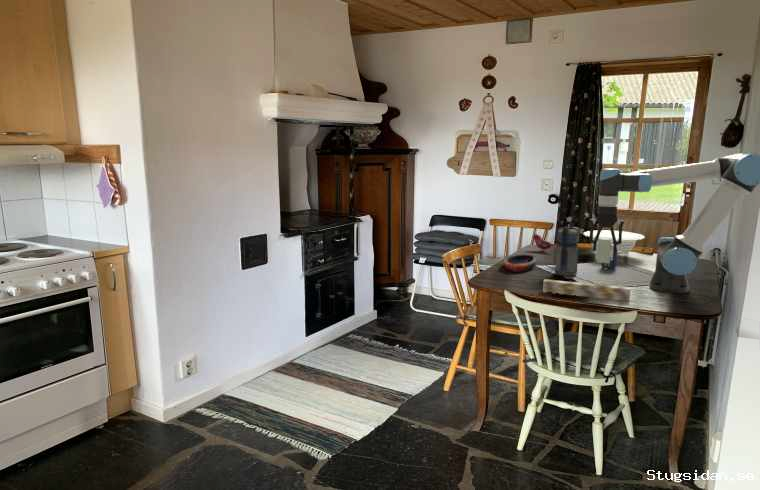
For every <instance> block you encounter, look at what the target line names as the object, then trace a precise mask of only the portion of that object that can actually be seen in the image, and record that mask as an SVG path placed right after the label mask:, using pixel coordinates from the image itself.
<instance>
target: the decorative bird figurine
mask: <svg viewBox="0 0 760 490" xmlns="http://www.w3.org/2000/svg"><path fill="white" fill-rule="evenodd" d="M532 238H533V239H534V243H535V245H536V247H538V248H539V249H540V250H538V251H539V252H542V253H545V252H546V250H547V249H550V248H551V247H554V246H557V244H558V243H551V242H550V241H548V240H546V239H544V238H542V237H541V236H540V235H539V234H537V233H535V234H534V235H533V236H532Z"/></svg>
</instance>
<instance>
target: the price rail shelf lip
mask: <svg viewBox="0 0 760 490" xmlns="http://www.w3.org/2000/svg"><path fill="white" fill-rule="evenodd" d="M542 292H543V293H547V292H552V293H551V294H556V293H559V294H558V295H565V294H566V296H567V295H568V296H575V295H576V296H577V297H586V298H587V297H588V298H594V299H595V298H596V299H605V300H614V301H621V302H623V301H625V302H630V297H631V287H629V286H618V285H607V284H596V283H586V282H585V283H584V282H576V281H565V280H555V279H545V278H544V279H543V283H542Z"/></svg>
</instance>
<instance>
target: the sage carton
mask: <svg viewBox="0 0 760 490" xmlns="http://www.w3.org/2000/svg"><path fill="white" fill-rule="evenodd" d="M611 249H612V241H611V237H605V236H599V238H598V253H597V259H596V263H600V264H601V263H610V257H611Z"/></svg>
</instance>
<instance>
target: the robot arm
mask: <svg viewBox="0 0 760 490" xmlns="http://www.w3.org/2000/svg"><path fill="white" fill-rule="evenodd" d="M713 180H715V181H716V182H720V185H719V187H718V188H717V189H716V190H715V192H714V193H713V194H712V196H711V197H710V198H709V199H708V201H707V202H706V203H705V205H704V206H703V207H702V209H701V210H700V211H699V212H698V214H697V215H696V216H695V217H694V218H693V220H692V222H690V224H689V225H688V226H687V228H686V229H685V230H684V232H683V233H682V234H678V235H675V237H673V236H672V237H669V236H665V237H664V236H661V237H659V238H658V242H657V250H656V251H657V252H656V261H655V270H654V273H653V275H652V277H651V278H650V281H649V286H648V287H649V289H652V290H653V291H657V292H661V293H668V294H686V293H688V292H689V288H690V287H689V286H690V285H689V281H688V279H687V275H688V274H690V273H691V272H692V271H694V270H695V268H696V266H697V262H698V259H700V257H701V255H702V254H703V253H704V249H703V248H704V247H703V246H704V245H705V244H706V243H707V241H708V240H709V239H710V237H712V236H713V234H714V233H715V231H716V230H717V229H718V227H720V225H721V224H722V222H724V220H726V218H727V216H729V214H730V213H731V211H732V210H733V209H734V208H735V207H736V205H737V204H738V203H739V202H740V200H741V199H742V198H743V196H746V195H750V194H751V193H752V192H753V191H754V190H755V188H756V187H757V186H758V185H760V154H759V153H756V152H740V153H735V154H731V155H726V156H723V157H716V158H714V159H713V160H711V161H703V162H697V163H689V164H683V165H675V166H674V165H673V166H668V167H667V166H666V167H660V168H652V169H646V170H638V171H636V170H635V171H634V170H633V171H628V172H627V173H622V172H621V170H620V169H619V168H602V169H601V171H600V176H599V189H598V190H599V191H598V203H597V204H598V205H597V215H596V217H595V218H590V220H589V224H590V230H589V231H590V237H589V238H588V239H589V240H588V242H589V243H591V244H592V243H593V246H592V249H593V250H592V251H593V252H595V260H597V253H598V243H597V240H598V238H599V235H600V233H601V230H603V228H608V229H609V231H611V235H612V239H613V244H612V249H611V260H613V252H615V253H616V247H617V246H619V245H618V244H621V243H622V231H623V226H624V223H625V221H624V220H623V219H618V205H619V203H618V202H619V192H626V193H627V192H629V193H630V192H631V193H648V192H650V191H651V190H652V187H654V188H655V187H663V186H671V185H680V184H687V183H688V184H689V183H694V182H695V183H696V182H705V181H713ZM596 222H597V223H598V225H599V227H598V229H597V230H598V232H597V234H596V237H595V240H594V239H593V231H594V227H595V224H596ZM616 223H617V225H618V231H619V240H618V241H616V237H615V233H614V231H615V230H614V226H615V224H616Z"/></svg>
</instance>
